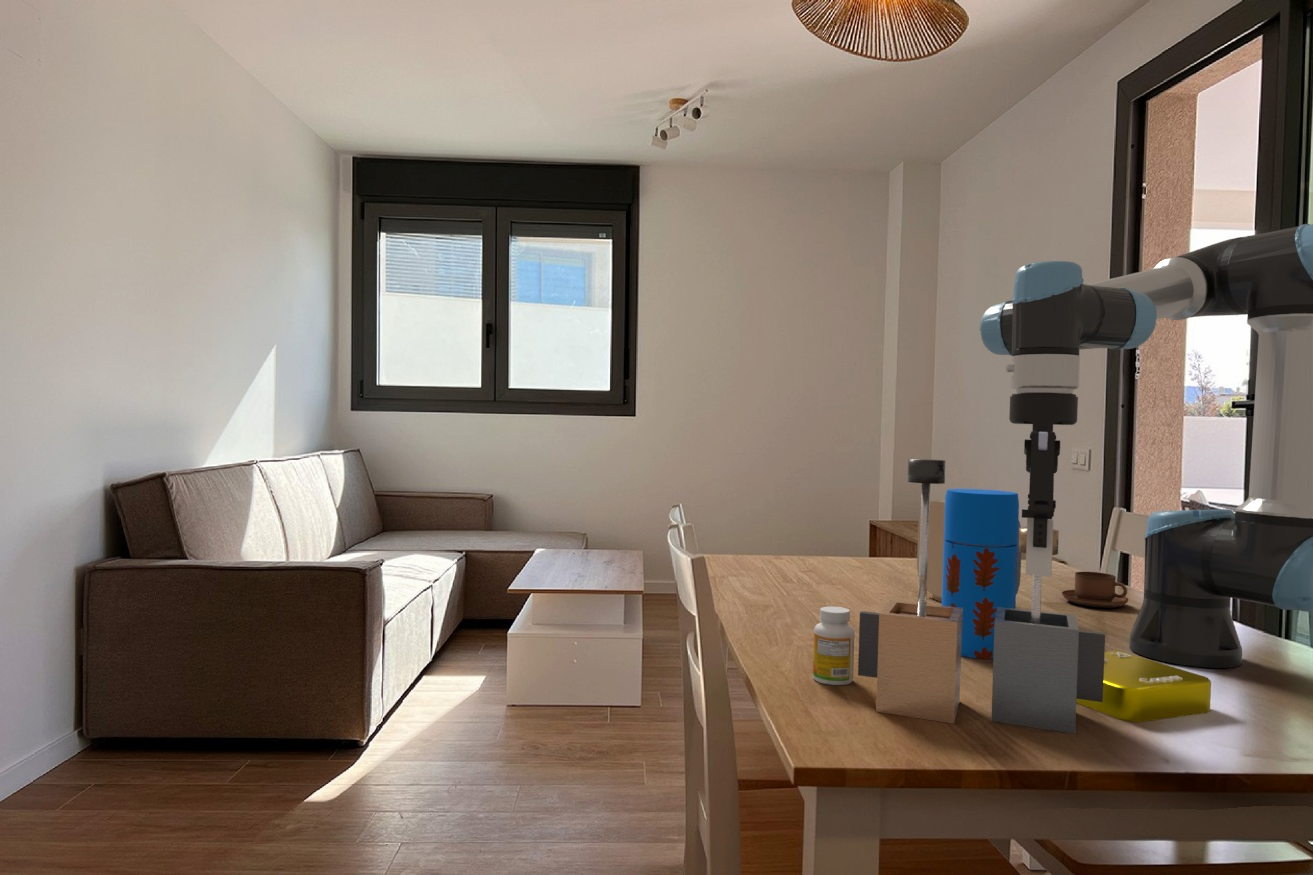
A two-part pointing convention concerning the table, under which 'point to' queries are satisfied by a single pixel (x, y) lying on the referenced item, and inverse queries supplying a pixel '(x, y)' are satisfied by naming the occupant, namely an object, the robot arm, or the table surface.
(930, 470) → the grey capped rod
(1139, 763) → the table surface
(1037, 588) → the tan and silver rod
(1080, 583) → the cup and saucer
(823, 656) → the supplement bottle
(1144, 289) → the robot arm
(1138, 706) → the element tile
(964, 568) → the thermos
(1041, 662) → the grey box
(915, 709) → the light wood box
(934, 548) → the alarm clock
